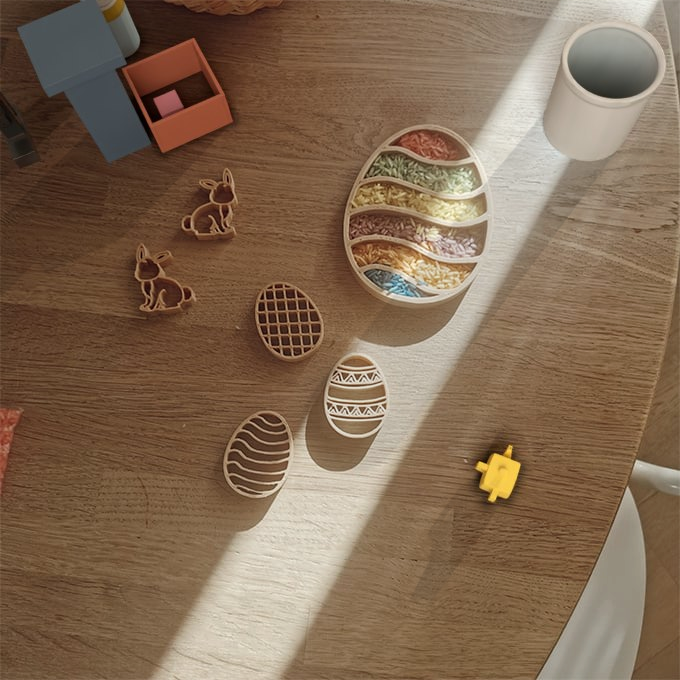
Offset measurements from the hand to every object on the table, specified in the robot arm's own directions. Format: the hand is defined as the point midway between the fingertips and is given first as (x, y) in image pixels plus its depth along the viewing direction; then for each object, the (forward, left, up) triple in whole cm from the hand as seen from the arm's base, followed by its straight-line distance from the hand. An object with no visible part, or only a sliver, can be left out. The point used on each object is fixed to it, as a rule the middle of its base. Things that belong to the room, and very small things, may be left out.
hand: (11, 125), depth 113 cm
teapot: (+88, -8, -14) cm, 90 cm away
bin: (+14, +21, -14) cm, 29 cm away
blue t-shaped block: (+7, +12, -14) cm, 19 cm away
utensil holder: (+75, +51, -14) cm, 92 cm away
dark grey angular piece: (0, 0, -4) cm, 4 cm away
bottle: (-5, +28, -14) cm, 31 cm away
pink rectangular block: (+13, +20, -9) cm, 25 cm away
